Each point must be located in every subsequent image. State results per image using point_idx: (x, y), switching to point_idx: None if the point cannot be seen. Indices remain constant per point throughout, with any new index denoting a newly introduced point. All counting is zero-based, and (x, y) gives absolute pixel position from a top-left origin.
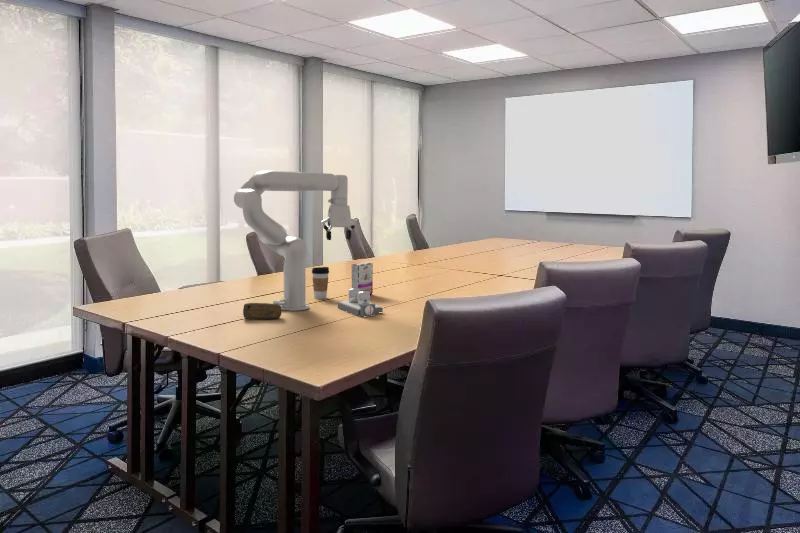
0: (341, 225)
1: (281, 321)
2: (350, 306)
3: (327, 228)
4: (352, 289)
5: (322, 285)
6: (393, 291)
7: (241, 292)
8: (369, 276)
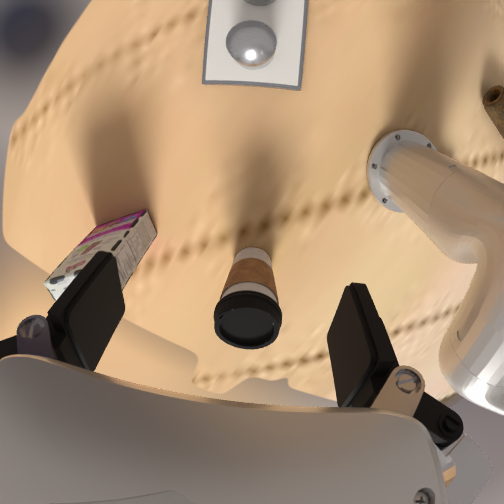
0: (187, 423)
1: (490, 71)
2: (303, 10)
3: (416, 409)
4: (267, 33)
5: (256, 268)
6: (42, 240)
7: None
8: (77, 252)
